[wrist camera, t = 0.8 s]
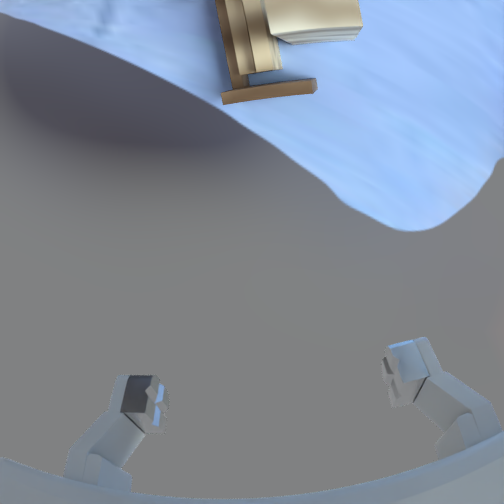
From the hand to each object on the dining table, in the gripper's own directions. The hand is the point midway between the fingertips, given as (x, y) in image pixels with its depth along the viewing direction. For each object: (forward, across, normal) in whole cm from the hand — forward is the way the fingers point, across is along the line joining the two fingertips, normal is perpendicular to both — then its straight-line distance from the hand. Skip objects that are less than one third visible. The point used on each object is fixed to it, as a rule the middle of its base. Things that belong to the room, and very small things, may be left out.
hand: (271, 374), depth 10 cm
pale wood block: (+37, -11, -13) cm, 40 cm away
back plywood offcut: (+39, -2, -13) cm, 41 cm away
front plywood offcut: (+39, -5, -13) cm, 41 cm away
